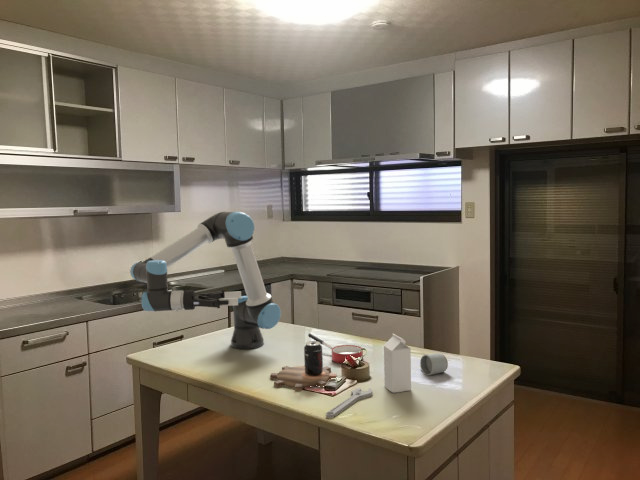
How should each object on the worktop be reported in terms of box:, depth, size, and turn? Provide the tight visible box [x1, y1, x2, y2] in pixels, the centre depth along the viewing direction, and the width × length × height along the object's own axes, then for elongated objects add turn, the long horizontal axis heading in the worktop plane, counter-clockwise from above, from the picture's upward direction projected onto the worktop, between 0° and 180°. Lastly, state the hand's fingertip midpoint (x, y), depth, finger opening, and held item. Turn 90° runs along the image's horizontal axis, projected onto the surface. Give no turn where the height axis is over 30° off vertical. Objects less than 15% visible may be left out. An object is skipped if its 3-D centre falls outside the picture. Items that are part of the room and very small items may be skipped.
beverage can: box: [303, 340, 324, 376], centre depth 198 cm, size 7×7×12 cm
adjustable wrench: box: [325, 387, 373, 419], centre depth 174 cm, size 25×6×2 cm, turn 141°
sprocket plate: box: [269, 364, 338, 392], centre depth 199 cm, size 25×25×2 cm
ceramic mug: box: [419, 353, 449, 376], centre depth 202 cm, size 11×8×8 cm
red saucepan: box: [308, 333, 364, 365], centre depth 227 cm, size 32×13×6 cm, turn 45°
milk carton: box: [383, 333, 412, 394], centre depth 185 cm, size 7×7×19 cm
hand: (239, 298), depth 204 cm, fingers open, 13 cm apart
